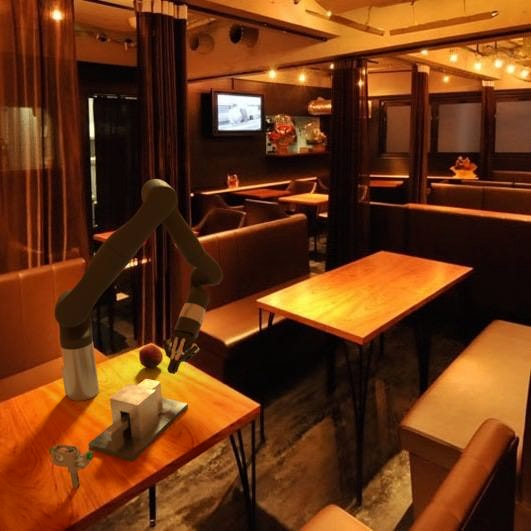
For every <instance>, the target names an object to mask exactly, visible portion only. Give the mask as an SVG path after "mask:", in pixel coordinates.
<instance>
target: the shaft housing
mask: <svg viewBox="0 0 531 531" xmlns="http://www.w3.org/2000/svg"><path fill="white" fill-rule="evenodd" d="M109 403H110V411H111V418H112V419H111V420H112V423H111V425H109V426H108V427H106V429H104V430H103V431H102V432H100V433H99V434H98V435H97V436H95V438H93V439H92V440H91V441H90V442H89V443H88V444H87V445H88V446H87V447H88V449H89V450H91V451H94V452H99V453H102V454H105V455H108V456H112V457H115V458H119V459H121V460H124V461H128V462H132V463H133V462H135V460H136V459H137V458H138V457H139V456H141V455H142V454H143V453H144V452H145V451H146V450H147V449H148V447H150V446H151V445H152V444H153V443H154V442H155V441H156V440H157V439H158V438H159V437H160V436H161V435H162V434H163V433H164V432H165V431H166V430H167V429H168V428H169V427H170V426H172V424H173V423H174V422H175V421H176V420H177V419H178V418H179V417H180V416H182V414H183V413H185V411H187V410H188V408H189V404H188V403H187V402H183V401H178V400H173V399H170V398H166V397H162V405H163V410H162V411H161V412H160V413H159V414H158V408H157V397H156V390H153V389H149V388H145V387H140V386H137V385H135V384H131V383H128V384H127V385H125V386H124V387H122V388H121V389H120V390H119V391H118V392H116V393H114V395H112V396H111V397H109ZM127 413H129V414H130V424H131V425H130V426H128V427H127V428H126V429H125V430H124V431H123V432H121V433H120V434H119V435H118V436H117V437H116V438H115V439H113V440H112V441H110V440H106V439H105V433H104V432H106V431H107V430H108V429H109V428H110V427H112V426H113V425H114V424H115V423H116V422H118V421H119V420H120V419H121V418H122V417H124V416H125V415H126V414H127Z"/></svg>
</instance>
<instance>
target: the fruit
mask: <svg viewBox="0 0 531 531" xmlns="http://www.w3.org/2000/svg"><path fill="white" fill-rule="evenodd" d="M138 355H139V356H138V357H139V362H140V364H141V365H142V366H143V367H144V368H146V369H147V370H151V369H152V370H153V369H154V368H157V367H158V366H159V365H160V364H161V363H162V362H163V360H164V359H163V358H164V356H163V352H162V351H161V349H160V348H158V346H156V345H154V344H148V345H145V346H144V347H142V348H141V349H140V350H139V352H138Z"/></svg>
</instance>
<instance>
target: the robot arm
mask: <svg viewBox="0 0 531 531" xmlns="http://www.w3.org/2000/svg"><path fill="white" fill-rule="evenodd" d="M140 194H141V195H140V196H141V199H142V202H143V203H142V204H141V206H140V207H139V209H137V212H135V214H134V215H133V216H132V217H131V219H130V220H128V221H127V222H126V223H125V224H123V225H122V226H120V227H119V228H118V229H116V230H115V231H113V233H111V234H110V235H109V236H108V237H107V238H106V239H105V241H104V242H103V243H102V245H100V246H99V248H98V249H97V251H96V253H95V254H94V255H93V257H92V259H91V260H90V262H89V264H88V265H87V268H86V270H85V271H84V273H83V275H82V277H81V278H80V280H79V281H78V282H77V284H76V285H75V286H74V287H73V288H72V289H68V290H66V291H64V292H62V293H60V296H59V297H58V298H57V300H56V304H55V306H54V311H53V312H54V318H55V320H56V322H57V323H58V326H59V344H60V349H61V351H60V352H61V355H62V364H63V366H62V367H61V372H62V380H63V381H62V382H63V386H64V394H65V396H68V399H70V400H71V401H75V402H77V401H78V402H79V401H85V400H89V399H92V398H94V397H95V396H97V395H98V393H99V391H100V386H99V380H98V371H97V364H96V355H95V348H94V341H93V340H94V339H93V325H92V320H91V319H92V318H91V317H92V316H91V311H92V309H93V308H94V306H95V304H96V303H97V302H98V300H99V299H100V298H101V296H102V295H103V293H104V292H105V291H106V290H107V289H108V288H109V287H110V286H111V285H112V283H113V282H114V281H115V280H116V279H117V278H118V277H119V276H120V274H121V273H122V272H123V271H124V270H125V268H126V267H127V266H129V264H130V262H131V261H132V260H133V258H134V257H135V256H136V254H137V253H138V252H139V250H140V249H141V248H142V247H143V245H144V244H145V243H146V241H147V240H148V239H149V237H150V236H151V235H152V233H153V232H154V231H155V230H156V229H157V228H158V227H159V226H160V225H161V224H162V225H163V226H164V228H165V230H166V231H167V233H168V234H169V236H170V237H171V239H172V241H173V243H174V244H175V246H176V249H177V250H178V252H179V253H180V254H181V256H182V257H183V259H184V260H185V263H186V264H187V265H189V266H190V267H193V268H192V270H191V272H190V278H189V287H188V289H189V290H188V295H187V297H186V299H185V303H184V305H183V306H182V309H181V310H180V313H179V316H178V318H177V321H176V324H175V326H174V330H173V333H172V334H171V335H170V338H169V339H162V345H163V349H164V352H165V356H166V357H167V358H168V359H169V363H168V365H167V372H168V373H169V374H171V375H175V374H176V373H178V371H179V367H180V366H181V363H183V362H184V363H187V362H189V360H191V359H192V358H193V357H195V356H196V355H197V354H198V353H200V352H201V349H200V348H199V347H198V345H197V338H198V336H199V332H200V330H201V328H202V325H203V323H204V319H205V316H206V315H205V314H206V311H207V307H208V305H209V303H210V298H211V297H210V292H208V291H207V290H205V289H204V287H205V286H218V285H219V284H221V282H222V280H223V278H224V274H223V273H224V272H223V269H222V268H221V266H220V264H219V263H218V262H217V261H216V260H215V259H214V258H213V257H212V256H211V255H210V254H209V253H208V252H207V251H206V250H205V248H204V246H203V244H202V243H201V241H200V240H199V238H198V237H197V235H196V234H195V232H194V230H192V228H191V227H190V225H189V224H188V223H187V221H186V220H185V219H184V217H183V215H182V214H181V213H180V211H179V208H178V207H177V204H178V195H177V192H176V190H175V189H174V188H173V187H172V186H171V185H169V184H168V183H167V182H166V181H164V180H161V179H158V178H154V179H150V180H147V181H146V182H145V183H144V184H143V186H142V188H141V193H140ZM171 347H172V348H171Z"/></svg>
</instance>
